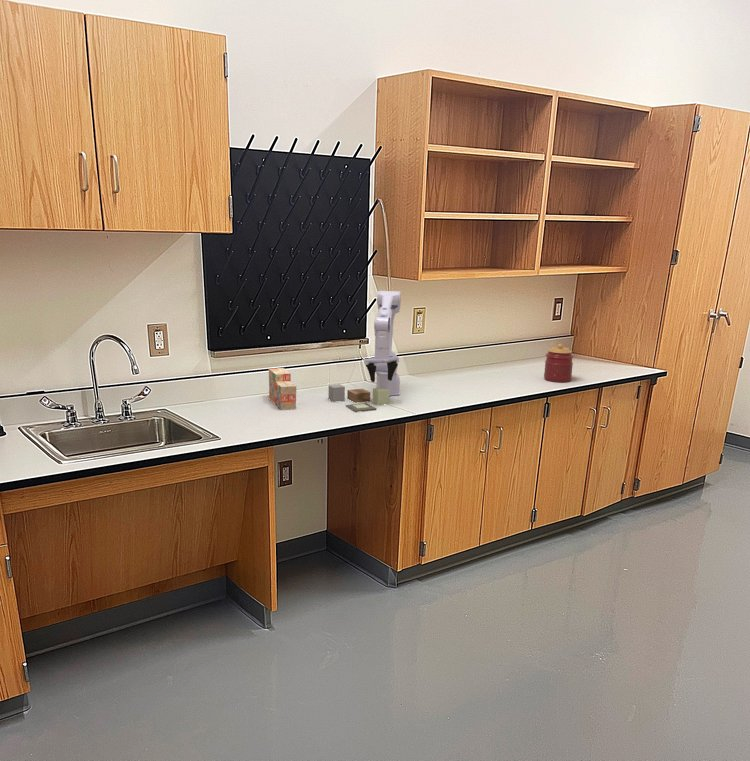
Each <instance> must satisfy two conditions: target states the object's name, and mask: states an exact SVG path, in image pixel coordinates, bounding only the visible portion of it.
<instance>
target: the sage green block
mask: <svg viewBox="0 0 750 761" xmlns="http://www.w3.org/2000/svg"><path fill="white" fill-rule="evenodd" d="M389 391H390V390H388V389H386V388H384V387H382V388H376V387H374V388H372V400H371V401H372V404H374V405H376V406H378V405H379V406H385V405H384V404H389V405H390V396H389Z"/></svg>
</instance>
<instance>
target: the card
mask: <svg viewBox="0 0 750 761" xmlns="http://www.w3.org/2000/svg"><path fill="white" fill-rule="evenodd" d="M345 407H346V408H347V407H348V409H349V410H351V411H352V410H353V411H352V412H354V411H355V412H354V413H358V412H357V411H362V412H369V411H368V410H371V411H377V408H376V407H375V406H373V405H371V404H369V403H367V402H360V403H353V404H345Z"/></svg>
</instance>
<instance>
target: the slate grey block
mask: <svg viewBox="0 0 750 761" xmlns="http://www.w3.org/2000/svg"><path fill="white" fill-rule="evenodd" d="M345 388H346V387H345V386H344V385H342V384H340V383H338V384H329V385H328V400H329V399H330V400H331V402H332V401H333V402H332V403H336V402H335V401H341V402H345V400H346V399H345V394H346V392H345V391H346V389H345ZM330 400H329V401H330Z"/></svg>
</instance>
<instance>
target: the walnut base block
mask: <svg viewBox="0 0 750 761" xmlns="http://www.w3.org/2000/svg"><path fill="white" fill-rule="evenodd" d="M346 391H347V396H346V398H347V400H348V399H349V400H348V401H350V400H351V402H352V401H353V402H352V403H354V402H355V403H354V404H358V403H357V402H359V403H367V401H368V402H371V391H368V390H366V389H364V388H356V389H355V388H354V389H347V390H346Z"/></svg>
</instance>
